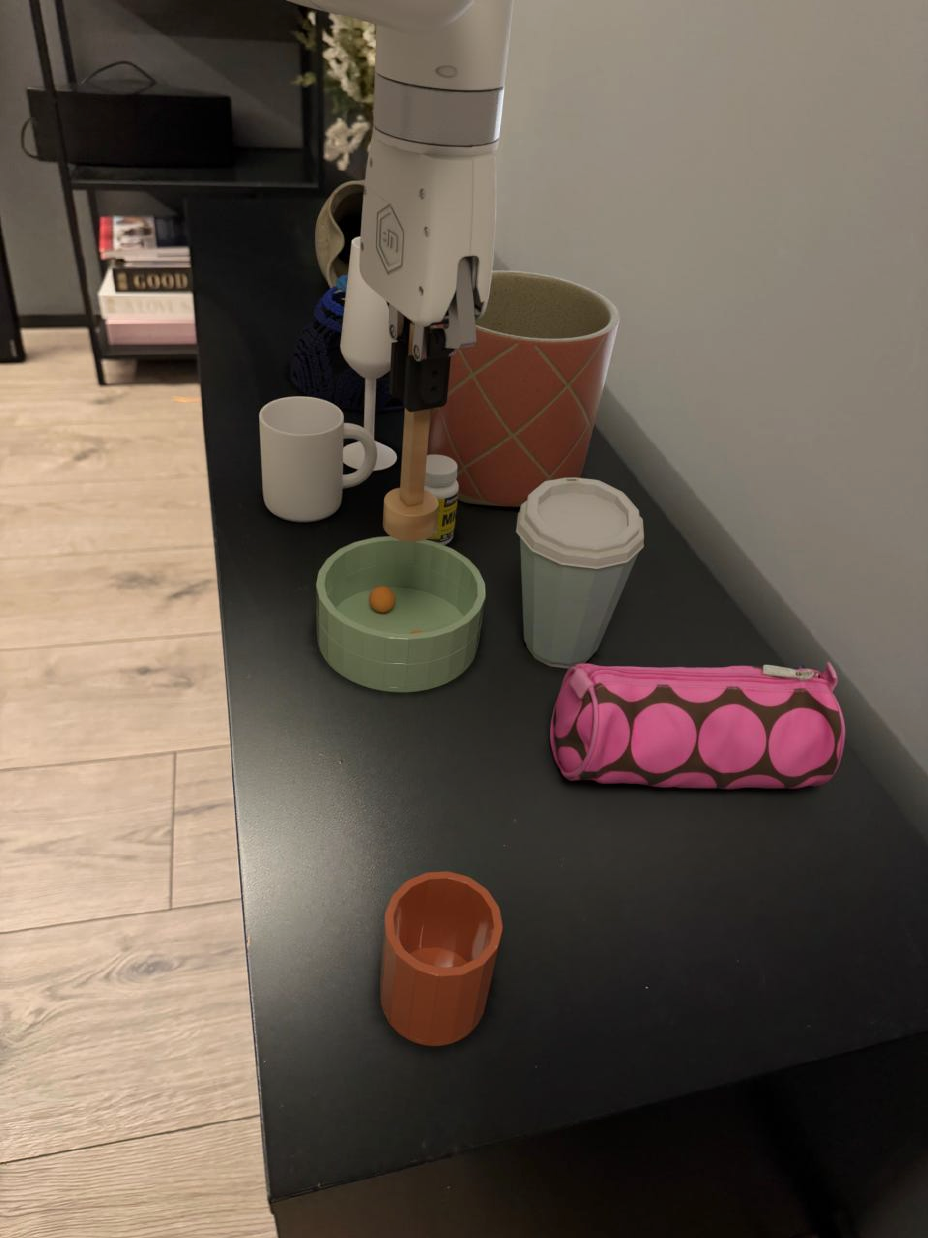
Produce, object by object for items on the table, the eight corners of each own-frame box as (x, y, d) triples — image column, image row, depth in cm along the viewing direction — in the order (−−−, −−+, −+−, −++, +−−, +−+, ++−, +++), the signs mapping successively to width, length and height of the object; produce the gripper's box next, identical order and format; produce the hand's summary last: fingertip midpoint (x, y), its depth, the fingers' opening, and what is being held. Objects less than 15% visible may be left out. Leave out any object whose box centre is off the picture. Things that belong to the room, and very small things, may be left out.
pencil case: (780, 717, 79) (819, 628, 73) (827, 806, 72) (875, 716, 66) (538, 721, 76) (557, 629, 70) (561, 815, 69) (585, 721, 63)
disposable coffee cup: (628, 684, 81) (669, 544, 71) (509, 689, 79) (534, 545, 69) (597, 608, 89) (629, 472, 79) (487, 610, 87) (507, 472, 77)
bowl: (360, 713, 75) (361, 658, 71) (291, 610, 84) (290, 557, 80) (508, 663, 81) (517, 611, 78) (430, 573, 91) (434, 522, 87)
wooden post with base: (397, 546, 70) (410, 340, 60) (373, 518, 73) (381, 316, 63) (445, 534, 72) (465, 333, 62) (420, 507, 75) (435, 309, 65)
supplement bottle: (445, 552, 94) (452, 481, 88) (401, 541, 94) (406, 469, 89) (459, 528, 97) (467, 458, 92) (417, 518, 98) (422, 447, 93)
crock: (411, 1066, 54) (420, 996, 48) (361, 972, 58) (365, 898, 53) (506, 1015, 56) (524, 944, 51) (452, 929, 61) (464, 855, 56)
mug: (367, 477, 103) (370, 392, 97) (384, 518, 97) (388, 430, 91) (258, 485, 100) (254, 397, 93) (269, 528, 94) (265, 437, 87)
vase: (268, 170, 148) (300, 171, 124) (396, 147, 153) (450, 144, 129) (299, 309, 158) (334, 334, 135) (418, 283, 163) (472, 304, 140)
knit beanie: (316, 419, 113) (316, 303, 103) (273, 351, 126) (269, 243, 117) (465, 402, 120) (477, 292, 111) (409, 340, 134) (415, 237, 124)
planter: (606, 515, 102) (646, 342, 89) (438, 521, 98) (454, 340, 85) (558, 431, 116) (587, 271, 104) (409, 433, 112) (420, 267, 99)
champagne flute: (406, 464, 106) (420, 252, 91) (353, 475, 103) (358, 257, 88) (382, 437, 111) (391, 230, 95) (329, 446, 108) (330, 234, 93)
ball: (375, 620, 83) (376, 599, 82) (364, 605, 85) (364, 584, 83) (399, 613, 84) (400, 593, 83) (387, 598, 86) (388, 578, 84)
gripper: (324, 84, 58) (324, 363, 69) (447, 150, 48) (423, 462, 59) (430, 84, 61) (413, 350, 73) (565, 145, 51) (520, 442, 63)
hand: (417, 399), depth 66 cm, fingers closed on wooden post with base, 1 cm apart
